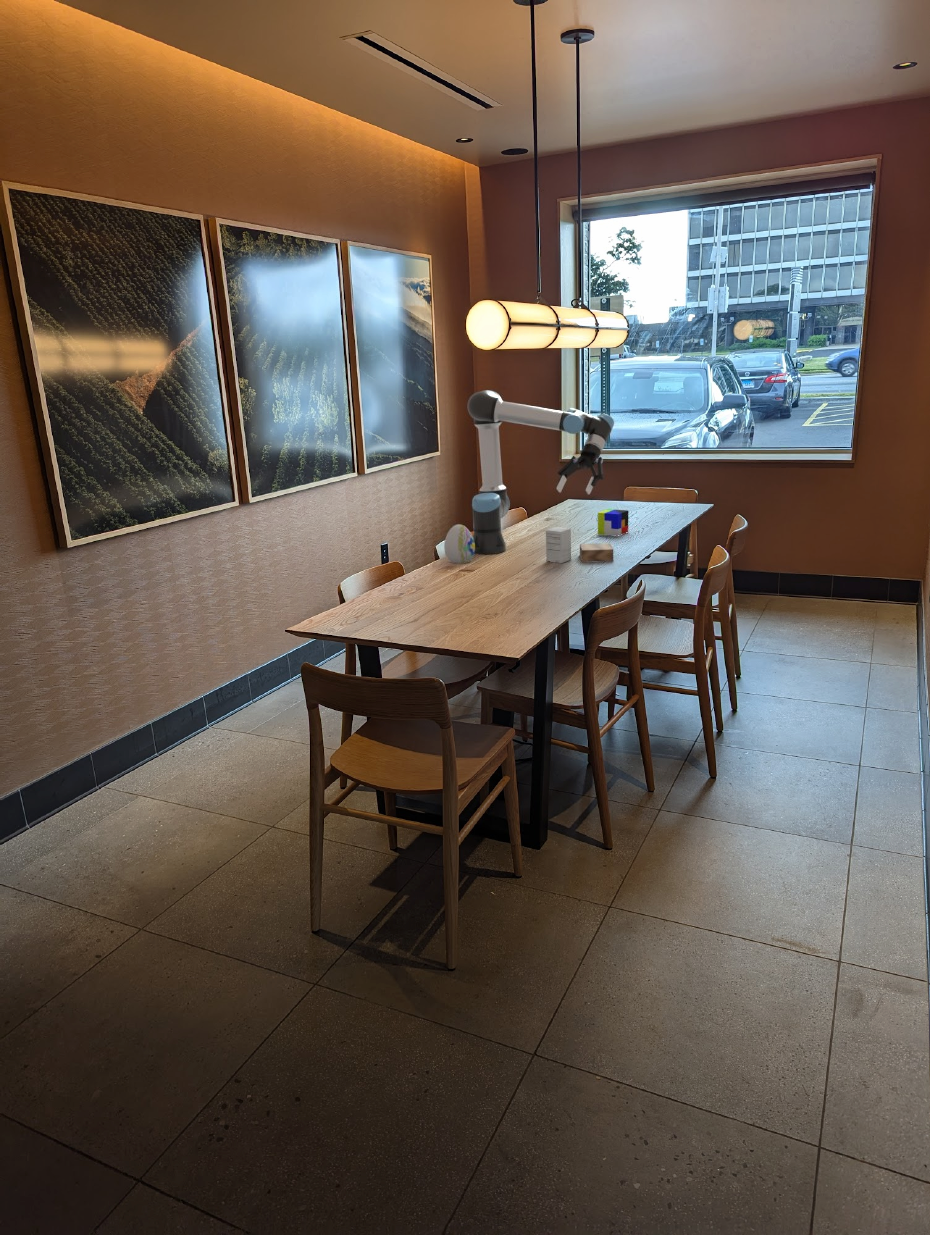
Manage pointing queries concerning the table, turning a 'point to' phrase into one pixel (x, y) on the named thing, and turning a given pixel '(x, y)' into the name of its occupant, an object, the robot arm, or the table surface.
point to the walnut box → (596, 552)
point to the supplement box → (558, 544)
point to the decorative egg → (459, 544)
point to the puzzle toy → (613, 522)
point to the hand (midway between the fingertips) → (572, 491)
